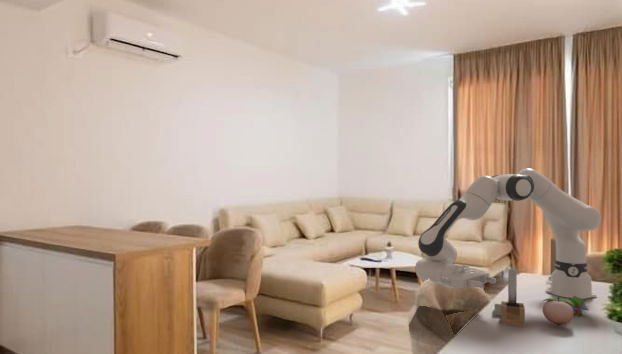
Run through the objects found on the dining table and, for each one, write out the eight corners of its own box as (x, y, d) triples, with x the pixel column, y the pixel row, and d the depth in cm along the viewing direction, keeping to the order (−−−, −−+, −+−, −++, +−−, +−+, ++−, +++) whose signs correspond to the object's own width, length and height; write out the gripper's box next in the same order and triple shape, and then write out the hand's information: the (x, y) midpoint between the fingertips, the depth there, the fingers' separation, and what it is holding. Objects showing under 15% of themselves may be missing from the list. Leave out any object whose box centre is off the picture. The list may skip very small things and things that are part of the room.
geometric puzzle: (592, 313, 152) (587, 292, 157) (570, 312, 154) (566, 290, 159) (586, 321, 158) (581, 299, 163) (565, 319, 160) (561, 298, 164)
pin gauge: (507, 314, 151) (508, 268, 151) (516, 315, 150) (516, 269, 150) (508, 317, 148) (508, 270, 148) (516, 318, 147) (516, 270, 147)
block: (494, 309, 164) (494, 298, 164) (514, 311, 161) (515, 301, 161) (494, 314, 157) (494, 303, 157) (516, 317, 154) (516, 306, 155)
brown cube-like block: (501, 318, 154) (501, 301, 154) (523, 320, 151) (523, 303, 151) (501, 324, 147) (501, 306, 147) (524, 326, 144) (524, 308, 144)
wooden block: (579, 283, 207) (580, 241, 207) (556, 282, 209) (557, 240, 209) (571, 278, 217) (571, 238, 217) (549, 277, 219) (550, 237, 219)
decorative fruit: (546, 329, 143) (546, 298, 143) (540, 321, 150) (540, 292, 150) (578, 332, 140) (578, 301, 140) (570, 324, 148) (570, 294, 148)
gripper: (439, 271, 159) (474, 278, 148) (467, 264, 172) (502, 270, 162) (438, 288, 159) (474, 296, 148) (467, 280, 172) (502, 287, 162)
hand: (489, 283), depth 155 cm, fingers open, 8 cm apart
